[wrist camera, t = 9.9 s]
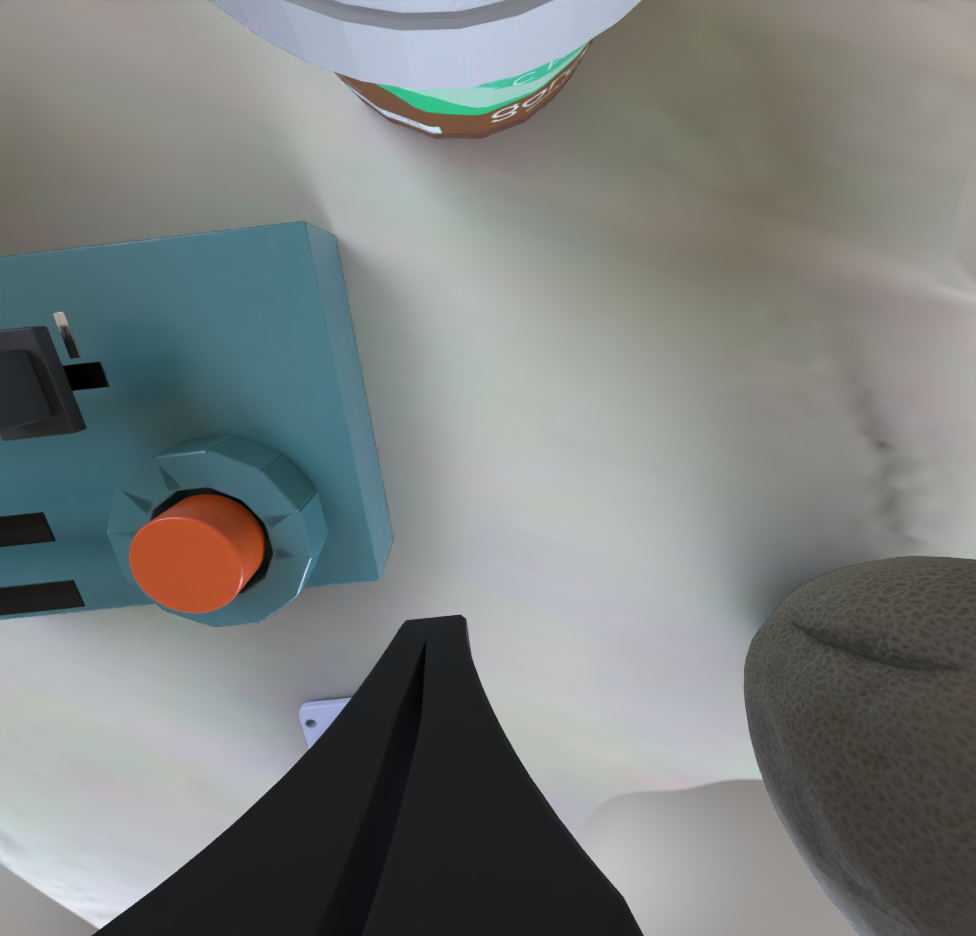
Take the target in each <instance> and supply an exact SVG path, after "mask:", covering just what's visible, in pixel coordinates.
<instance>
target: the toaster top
mask: <svg viewBox="0 0 976 936" xmlns="http://www.w3.org/2000/svg"><path fill="white" fill-rule="evenodd" d="M53 316H54V318H55V321H56V324H57V326H58V329H59V331H60V334H61V337H62V339H63V342H64V344H65V347H66V349H67V352H68V355H69V357H70V359H75V358H82V355H81V353H80V350H79V347H78V345H77V342H76V339H75V337H74V334H73V331H72V329H71V326H70V323H69V321H68V318H67V316H66V313H65V312H58V313H53ZM63 369H64V371H65V374H66V376H67V379H68V381H69V384H70V386H71V389H72V391H77V390H86V389H95V388H104V387H110V386H109V383H108V380H107V378H106V375H105V372H104V369H103V367H102V364H101V361H99V362H90V363H81V364H73V365H64V366H63ZM54 541H56V539H55V537H54V535H53V533H52V530H51V528H50V526H49V524H48V521H47V519H46V517H45V515H44V513H43V512H34V513H25V514H16V515H6V516H0V547H8V546H17V545H27V544H36V543H45V542H54ZM78 607H85V604H84V601H83V599H82V597H81V595H80V592H79V590H78V588H77V586H76V584H75V581H74V580H65V581H56V582H46V583H37V584H27V585H18V586H8V587H0V616H2V615H11V614H21V613H30V612H40V611H49V610H59V609H68V608H78Z"/></svg>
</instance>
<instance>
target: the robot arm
mask: <svg viewBox="0 0 976 936" xmlns="http://www.w3.org/2000/svg"><path fill="white" fill-rule="evenodd" d="M299 718H300V722H301V725H302V728H303V731H304V735H305V738H306V741H307V745H308V748H309V750H308V751H307V752H306V753H305V754H304V755H303V756H302V757H301V759H300V760H299V761H298V762H297V763H296V764H295V765H294V766H293V767H292V768H291V769H290V770H289V771H288V772H287V773H286V774H285V775H284V776H283V777H282V778H281V779H280V780H279V781H278V782H277V783H276V784H275V785H274V786H273V787H272V788H271V789H270V790H269V791H268V792H267V793H266V794H265V795H264V796H263V797H261V798H260V799H259V800H258V801H257V802H256V803H255V804H254V805H253V806H252V807H251V808H250V809H249V810H248V811H247V812H246V813H245V814H243V815H242V816H241V817H240V818H239V819H238V820H237V821H236V822H235V823H234V824H233V825H231V826H230V827H229V828H228V829H227V830H226V831H224V832H223V833H222V834H221V835H220V836H219V837H217V838H216V839H215V840H214V841H213V842H212V843H210V844H209V845H208V846H207V847H206V848H205V849H203V850H202V851H201V852H200V853H199V854H197V855H196V856H195V857H194V858H192V859H191V860H190V861H189V862H188V863H186V864H185V865H184V866H183V867H181V868H180V869H179V870H178V871H177V872H175V873H174V874H173V875H172V876H170V877H169V878H168V879H166V880H165V881H164V882H163V883H161V884H160V885H159V886H158V887H156V888H155V889H154V890H152V891H151V892H150V893H148V894H147V895H146V896H144V897H143V898H142V899H140V900H139V901H138V902H136V903H135V904H134V905H132V906H131V907H130V908H128V909H127V910H125V911H124V912H123V913H121V914H120V915H119V916H117V917H116V918H115V919H113V920H112V921H111V922H109V923H108V924H107V925H105V926H104V927H103V928H101V929H100V930H99V931H97V932H96V933H95V934H93V935H92V936H644V935H643V933H642V932H641V930H640V928H639V926H638V924H637V922H636V920H635V918H634V916H633V914H632V913H631V911H630V909H629V907H628V905H627V903H626V901H625V899H624V897H623V896H622V895H621V894H620V892H619V891H618V890H617V889H616V888H615V887H614V886H613V884H612V883H611V882H610V881H609V880H608V879H607V877H606V876H605V875H604V874H603V873H602V872H601V871H600V869H599V868H598V867H597V866H596V864H595V863H594V862H593V861H592V860H591V858H590V857H589V856H588V855H587V854H586V852H585V851H584V850H583V849H582V847H581V846H580V845H579V843H578V842H577V841H576V840H575V838H574V837H573V836H572V834H571V833H570V832H569V830H568V829H567V828H566V827H565V825H564V824H563V823H562V821H561V820H560V819H559V817H558V816H557V815H556V813H555V812H554V810H553V809H552V807H551V806H550V804H549V803H548V802H547V800H546V799H545V797H544V796H543V794H542V793H541V791H540V790H539V789H538V787H537V786H536V784H535V783H534V781H533V780H532V778H531V777H530V775H529V774H528V772H527V771H526V769H525V767H524V766H523V764H522V762H521V761H520V759H519V757H518V756H517V754H516V753H515V751H514V749H513V747H512V746H511V744H510V742H509V740H508V738H507V737H506V735H505V733H504V731H503V729H502V727H501V725H500V724H499V722H498V720H497V718H496V716H495V713H494V711H493V709H492V707H491V705H490V703H489V701H488V698H487V696H486V694H485V692H484V689H483V687H482V684H481V682H480V679H479V676H478V674H477V671H476V668H475V666H474V663H473V660H472V656H471V649H470V642H469V635H468V628H467V621H466V618H464V617H463V616H462V615H453V616H443V617H433V618H424V619H414V620H406V621H405V622H404V623H403V624H402V626H401V627H400V629H399V630H398V632H397V633H396V635H395V637H394V638H393V640H392V641H391V643H390V644H389V646H388V647H387V649H386V650H385V652H384V653H383V655H382V656H381V658H380V659H379V661H378V662H377V664H376V665H375V667H374V668H373V669H372V671H371V672H370V674H369V675H368V676H367V678H366V679H365V680H364V682H363V683H362V685H361V686H360V687H359V689H358V690H357V692H356V693H355V694H354V696H353V697H352V698H342V699H332V700H322V701H313V702H306V703H304V704H303V705H302V706H301V708H300V711H299ZM311 720H314V721H311Z"/></svg>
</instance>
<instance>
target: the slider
mask: <svg viewBox="0 0 976 936" xmlns="http://www.w3.org/2000/svg"><path fill="white" fill-rule="evenodd" d="M85 429H87V427H86V424H85V422H84V419H83V417H82V414H81V412H80V409H79V407H78V404H77V402H76V399H75V397H74V394H73V391H72V389H71V386H70V384H69V381H68V379H67V376H66V374H65V371H64V369H63V366H62V363H61V361H60V358H59V356H58V353H57V351H56V348H55V346H54V343H53V341H52V338H51V336H50V333H49V330H48V328H47V327H46V326H30V327H22V328H13V329H4V330H0V436H1V438H2V440H3V441H11V440H20V439H29V438H38V437H47V436H56V435H65V434H74V433H77V432H80V431H83V430H85Z"/></svg>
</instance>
